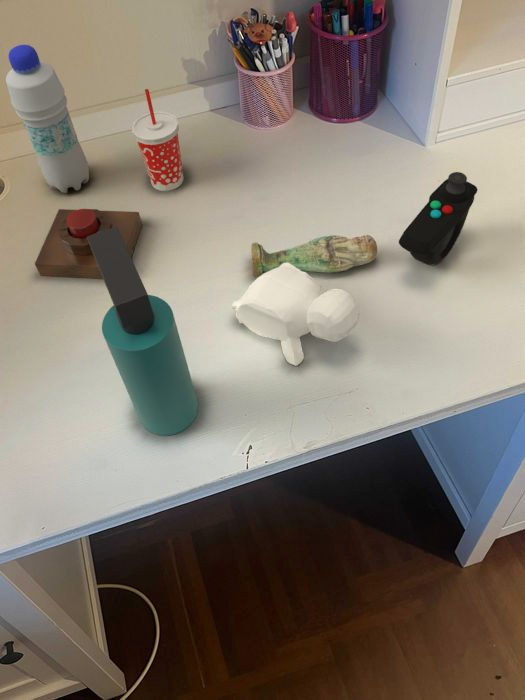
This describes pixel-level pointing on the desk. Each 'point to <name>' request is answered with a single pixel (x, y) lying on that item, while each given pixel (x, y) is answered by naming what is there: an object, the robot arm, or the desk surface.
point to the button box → (82, 244)
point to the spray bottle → (144, 341)
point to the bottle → (46, 119)
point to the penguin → (295, 310)
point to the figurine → (318, 255)
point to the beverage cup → (159, 147)
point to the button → (82, 223)
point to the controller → (440, 220)
